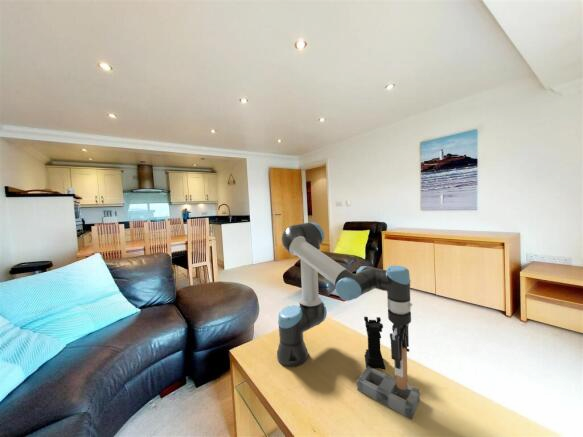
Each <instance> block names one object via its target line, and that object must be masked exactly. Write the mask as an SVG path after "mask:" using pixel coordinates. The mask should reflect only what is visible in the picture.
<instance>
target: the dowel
mask: <svg viewBox="0 0 583 437" xmlns="http://www.w3.org/2000/svg"><path fill="white" fill-rule="evenodd" d="M402 359H403V378H402V377H400V376H398V375H396V374H395V373H394V375H395V377H394V378H395V379H396V386H397V387H398V388H399V389H402V390H405V389H407V388H408V385H409V383H408V352H407V350H406V348H405V347H403V346H402Z"/></svg>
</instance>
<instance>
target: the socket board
mask: <svg viewBox="0 0 583 437" xmlns="http://www.w3.org/2000/svg"><path fill="white" fill-rule="evenodd" d="M372 382H374V383H375V384H374V383H372ZM376 384H377V385H376ZM356 387H357V388H356V390H357V391H359V392H361V393H363V394H364V395H366V396H368V397H369V398H372V399H374V400H375V401H377V402H380V403H381V404H382V405H385V406H387V407H388V408H390V409H392V410H394V411H396V412H398V413H399V414H401V415H402V416H405V417H407V419H411V420H412V419H413V417H414V416H415V413H416V410H417V407H418V406H419V405H418V404H419V402H420V399H421V398H420V395H421V394H420V389H419V388H416V387H415V386H412V385H410V384H408V388H407V389H405V390H402V389H399V388H398V387H397V386H396V379H395V377H393V376H390V375H388V374H386V373H384V372H381V370H380V371H379V370H378V369H373V368H371V367H369V366H368V367H367V368H365V369H364V371H363V372H362V373H361V375H360V376H359V377H358V378H357V380H356ZM397 394H398V395H399V396H398V395H397ZM400 396H401V397H400ZM403 397H404V398H403Z"/></svg>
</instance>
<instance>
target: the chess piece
mask: <svg viewBox="0 0 583 437" xmlns="http://www.w3.org/2000/svg"><path fill="white" fill-rule="evenodd" d="M363 320H364V322H365V325H364V326H365V329H366V330H365V331H366V335H367V349H365V352H364V353H365V354H364V362H365V367H366V368H367V367H368V366H369V367H371V368H373V369H375V370H386V365H385V363H384V362H385V361H384V359H383V355H382V351H381V339H382V335H381V333H382V332H383V328H384V324H383V323H382V322H381V320H382V319H381V317H380V316H377V317H376V319H369V317H368V316H363ZM366 368H365V369H366Z"/></svg>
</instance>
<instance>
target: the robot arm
mask: <svg viewBox="0 0 583 437" xmlns="http://www.w3.org/2000/svg"><path fill="white" fill-rule="evenodd" d="M324 239H325V232H324V229H323V228H322V227H321V226H320V224H318V223H316V222H305V223H299V224H291V225H289V226H287V227H286V228H285V229H284V231H283V233H282V235H281V242H282V246H283V247H284V249H285V250H286V251H287V252H288V253H289V254H290V255H291V256H297V257H298V258H299V259H300V277H301V281H300V282H301V297H300V298H299V306H298V305H291V306H290V305H289V306H286V307H284V308H282V309H281V310H280V311H279V314H278V319H277V320H278V321H277V323H278V332H279V333H278V335H279V343H278V349H277V351H276V352H277V353H276V357H277V358H276V359H277V362H278V363H279V364H280V365H282V366H285V367H287V368H288V367H289V368H290V367H298V366H299V367H300V366H301V365H303V364H304V363H305V362H306V361H307V360H308V356H309V355H308V354H309V353H308V352H309V351H308V348H307V346H306V344H305V341H304V333H305V332H306V331H309V330H311V329H312V328H314V327H316V326H319V325H320V324H321V323H323V322H324V321H325V320H326V318H327V312H328V311H327V307H326V306H325V305H326V304H325V303H324V301H323V300H322V298H321V297H320V296H319V275H318V274H320V275H321V276H322V277H323V278H325V279H326V280H327V281H328V282H330V283H331V284H332V285H334V286H335V292H336V294H338V296H339V298H340V299H341V300H343V301H347V302H348V301H352V300H356V299H358V298H360V296H362V295H364V294H366V293H369V292H370V291H372V290H374V289H375V290H380V291H382V292H383V291H385V292H386V294H387V298H386V300H387V318H388V320H389V321H390V322H391V323H392V325H391V326H392V328H391V329H392V333H389V339H390V349H391V350H390V352H391V355H390V357H391V360H394V362H393V363H394V366H393V367H394V375H395V374H396V375H398V376H400V377H402V378H403V359H402V346H403V347H405V348H406V350H407V353H410V349H409V348H408V347H409V340H410V338H409V324H410V323H412V312H411V308H412V307H413V304H412V302H411V276H410V270H409V269H408V268H407V267H406V266H403V265H389V266H387V267H386V269H382V268H376V267H372V266H369V265H368V266H365V265H363V266H362V265H361V266H360V267H359V268H358V269H357V270H356V273H353V272H352V271H351V270H348V268H346V267H344V266H343V265H341V264H340V263H338V262H337V261H336V260H334V259H333V258H331V257H330V256H328V255H327V254H326V253H324V252H323V251H321V244H322V243H324V242H323V241H324Z"/></svg>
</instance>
